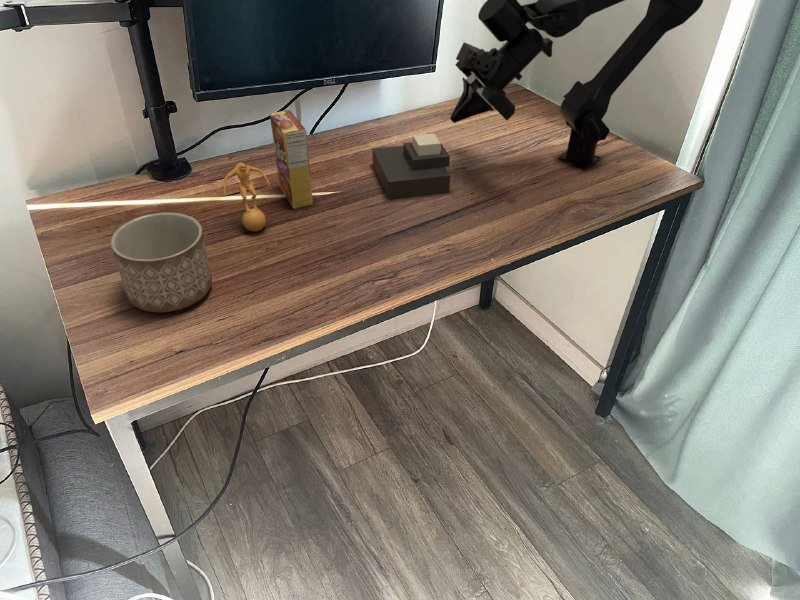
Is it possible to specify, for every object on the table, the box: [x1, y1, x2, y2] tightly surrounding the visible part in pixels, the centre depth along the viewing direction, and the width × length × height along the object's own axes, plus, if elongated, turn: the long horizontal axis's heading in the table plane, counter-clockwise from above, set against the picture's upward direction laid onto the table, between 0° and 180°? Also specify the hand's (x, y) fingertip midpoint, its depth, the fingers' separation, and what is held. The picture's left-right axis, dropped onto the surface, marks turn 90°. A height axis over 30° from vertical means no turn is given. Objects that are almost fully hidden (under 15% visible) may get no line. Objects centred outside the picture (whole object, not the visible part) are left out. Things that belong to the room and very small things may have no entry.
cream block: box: [412, 133, 442, 156], centre depth 127 cm, size 4×4×3 cm
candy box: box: [269, 109, 314, 210], centre depth 120 cm, size 9×4×15 cm, turn 25°
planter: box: [110, 212, 213, 313], centre depth 99 cm, size 13×13×10 cm
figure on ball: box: [222, 162, 271, 232], centre depth 113 cm, size 8×6×12 cm
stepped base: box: [371, 141, 451, 200], centre depth 129 cm, size 13×14×6 cm
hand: (451, 120), depth 126 cm, fingers closed
